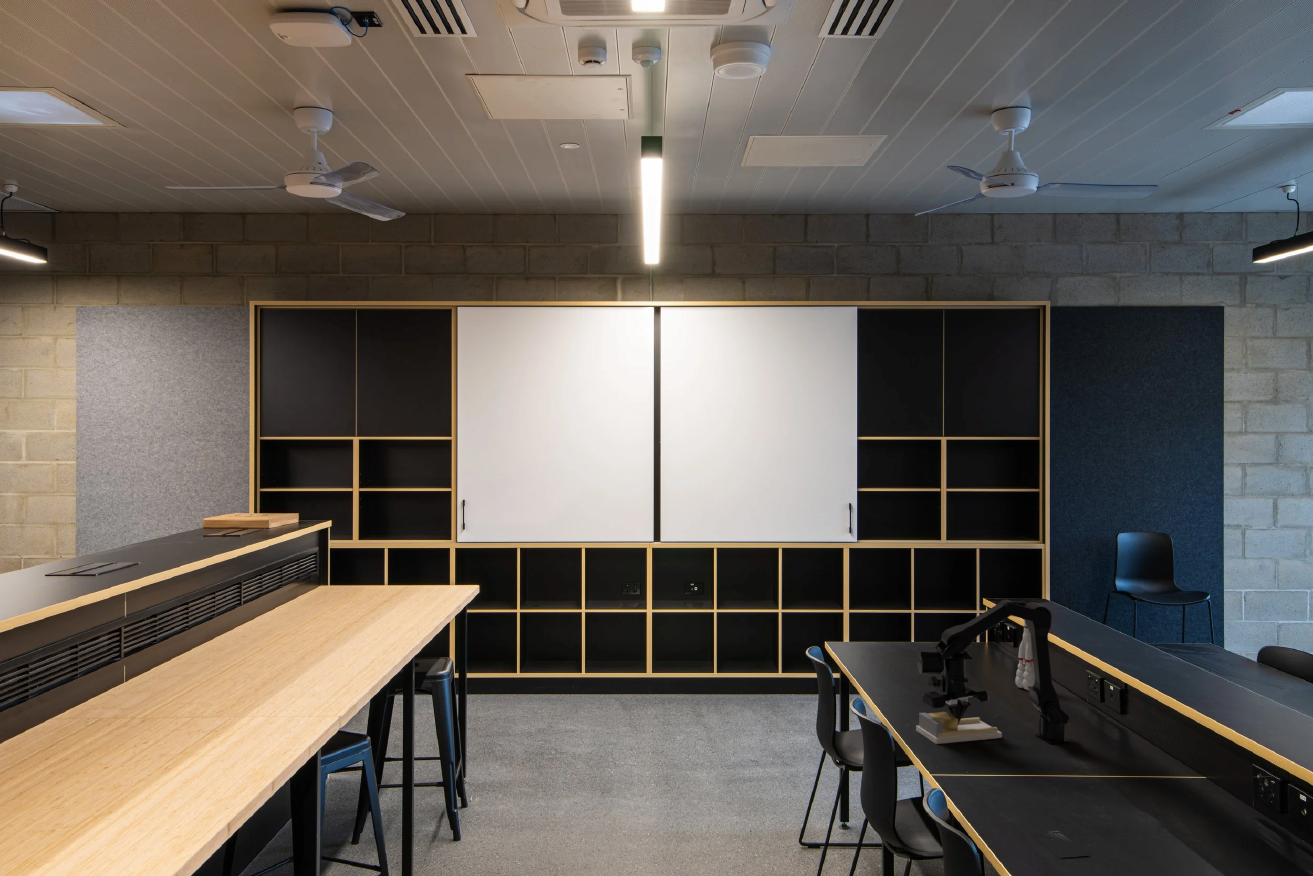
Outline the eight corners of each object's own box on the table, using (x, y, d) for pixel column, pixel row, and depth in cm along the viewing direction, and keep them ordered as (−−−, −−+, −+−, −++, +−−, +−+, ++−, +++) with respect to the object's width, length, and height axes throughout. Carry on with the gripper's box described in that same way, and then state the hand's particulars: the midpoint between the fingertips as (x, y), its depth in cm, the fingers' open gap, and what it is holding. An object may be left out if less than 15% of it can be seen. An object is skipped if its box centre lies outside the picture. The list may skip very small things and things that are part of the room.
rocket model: (1012, 684, 272) (1014, 601, 272) (1034, 686, 271) (1036, 602, 270) (1017, 691, 265) (1019, 605, 265) (1040, 693, 263) (1042, 606, 263)
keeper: (945, 725, 228) (945, 712, 228) (957, 733, 222) (958, 719, 222) (927, 726, 226) (927, 713, 226) (939, 734, 220) (940, 721, 220)
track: (979, 725, 233) (979, 707, 233) (1001, 737, 223) (1002, 719, 223) (916, 730, 227) (916, 712, 227) (936, 744, 218) (936, 725, 218)
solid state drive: (1059, 860, 159) (1059, 857, 159) (1029, 835, 169) (1029, 832, 169) (1089, 858, 160) (1089, 855, 160) (1058, 833, 170) (1058, 830, 170)
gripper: (964, 661, 235) (966, 711, 235) (911, 668, 230) (912, 719, 231) (988, 672, 224) (990, 725, 224) (933, 680, 220) (934, 733, 220)
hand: (956, 725), depth 225 cm, fingers closed
